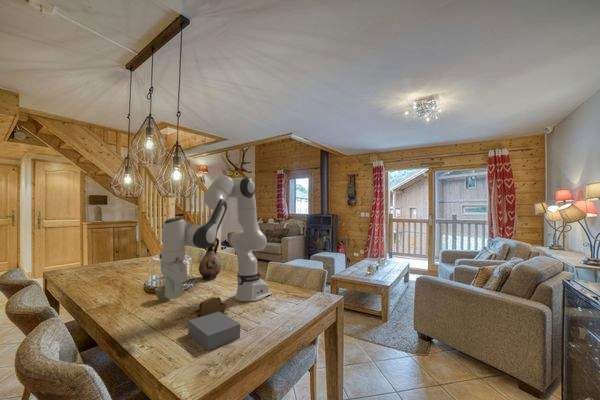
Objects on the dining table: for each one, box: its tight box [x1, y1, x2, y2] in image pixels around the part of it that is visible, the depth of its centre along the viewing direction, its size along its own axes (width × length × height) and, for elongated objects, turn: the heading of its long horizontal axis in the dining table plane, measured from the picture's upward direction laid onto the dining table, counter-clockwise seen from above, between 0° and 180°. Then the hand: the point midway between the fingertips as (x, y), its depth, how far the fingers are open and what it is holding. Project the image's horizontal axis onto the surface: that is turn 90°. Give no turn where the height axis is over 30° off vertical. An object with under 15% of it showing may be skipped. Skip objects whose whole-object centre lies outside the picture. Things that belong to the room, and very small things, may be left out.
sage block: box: [164, 276, 183, 300], centre depth 112 cm, size 5×5×8 cm
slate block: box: [187, 312, 241, 352], centre depth 111 cm, size 14×18×6 cm
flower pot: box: [154, 285, 171, 303], centre depth 150 cm, size 10×10×7 cm
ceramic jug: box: [198, 237, 222, 281], centre depth 196 cm, size 17×15×30 cm
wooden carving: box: [193, 296, 228, 318], centre depth 128 cm, size 16×5×10 cm, turn 141°
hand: (173, 289), depth 112 cm, fingers closed on sage block, 5 cm apart
